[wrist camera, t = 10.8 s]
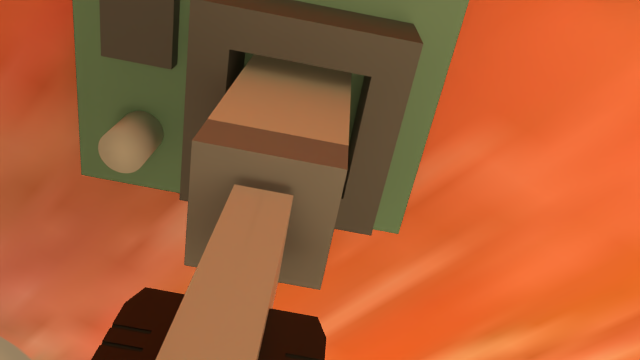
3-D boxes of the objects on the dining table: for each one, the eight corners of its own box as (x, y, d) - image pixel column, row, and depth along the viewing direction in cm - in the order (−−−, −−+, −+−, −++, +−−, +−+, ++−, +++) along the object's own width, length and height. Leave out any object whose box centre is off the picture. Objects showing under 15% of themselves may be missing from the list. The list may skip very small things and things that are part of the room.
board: (92, 164, 26) (43, 211, 22) (82, -97, 21) (13, -98, 17) (396, 220, 27) (403, 278, 23) (468, -20, 21) (495, -3, 17)
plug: (249, 131, 24) (184, 265, 15) (259, 46, 22) (192, 140, 13) (334, 148, 24) (320, 289, 15) (351, 64, 22) (347, 169, 13)
